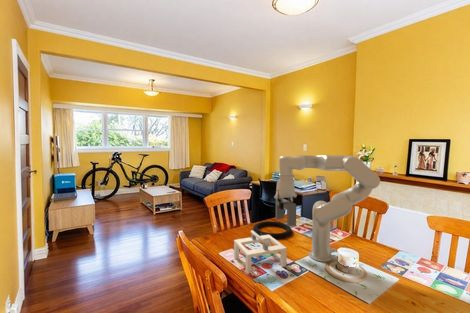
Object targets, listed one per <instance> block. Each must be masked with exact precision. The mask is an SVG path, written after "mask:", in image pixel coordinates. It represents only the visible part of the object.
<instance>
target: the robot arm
mask: <svg viewBox="0 0 470 313" xmlns="http://www.w3.org/2000/svg"><path fill="white" fill-rule="evenodd" d="M278 159H279V162H278V168H279V169H278V170H279V171H278V172H279V173H278V174H279V176H278V180H277V182H276V190H275V195H274V196H273V198H274V199H275V200H276V199H277V201H278V202H279V208H280V209H281V210H283V203H282V202H283V199H285V198H287V200H288V201H290V202H292V203H294V200H295V199H296V198H297V196H298V194H297V193H296V191H295V190H296V189H295V182H294V179H293V178H295V175H293V172H294V171H293V170H297V171H301V170H304V169H318V170H322V171H326V172H347V173H348V174H349V175H350V176H351V177H352V178H354V180H356V183H355V184H354V185H353V186H351V187H350V188H347V189H345V190H343V191H341V192H338V193H336V194H334V195H333V196H332V197H331V199H330V201H327V202H326V201H324V200H318V201H316V202H314V204H313V206H312V228H311V229H312V230H311V232H312V233H311V237H312V238H311V250H310V251H308V257H310V258H311V259H312V260H315V261H316V262H321V263H322V262H323V263H325V262H326V263H327V262H331V261H332V260H333V258H334V257H333V255H332V254H333V253H336V252H337V249H336V247H334V248H332V247H331V223H332V222H334V221H336V220H339V219H341V218H343V217H346V216H348V215H349V214H350V213H351V212H352V210H353V206H354V205H356V204H358V203H360V202H362V201H364V200H365V199H367V198H368V197H369V196H370V194H371V193H372V192H373V189H376V188H378V187H379V186H380V184H381V179H380V176H379V175H378V174H377V173H376V172H375V171H373V169H371V168H370V167H369V166H368V165H367V164H365V163H364V162H363V161H362V160H361V159H360V158H358V157H357V156H354V155H344V154H343V155H338V154H336V155H333V154H331V155H330V154H328V155H325V154H323V155H317V154H316V155H313V154H312V155H311V154H310V155H309V154H307V155H303V154H302V155H297V156H294V157H293V156H290V155H284V156H283V155H282V156H279V158H278Z"/></svg>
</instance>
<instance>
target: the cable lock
mask: <svg viewBox="0 0 470 313" xmlns="http://www.w3.org/2000/svg"><path fill="white" fill-rule="evenodd" d="M262 227H263V228H264V227H276V228H280V229H284V230H286V231H284V232H274V233H273V232H266V231H262V230H260V228H262ZM252 229H253V231H254V232H255V233H257V234H258V235H259V236H263V235H270V236H272V237H273V238H274V239H275V240H279V239H285V238H287V237H289V236H291V235H292V233H293V230H292V228H291V226H287V223H284V222H280V221H269V220H268V221H267V220H266V221H261V222H258V223H256V224H255V225H254V226H253V227H252Z"/></svg>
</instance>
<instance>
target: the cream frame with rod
mask: <svg viewBox="0 0 470 313" xmlns="http://www.w3.org/2000/svg"><path fill="white" fill-rule="evenodd" d="M250 233H251V237H244V238H238V239H233V258H234V259H235V260H240V251H241V253H243V255H244V256H245V273H246V274H248V275H250V274H249V273H251V274H252V258H254V257H260V256H265V255H270V254H276V253H280V260H279V261H280V267H282V268H286V267H287V247H286V246H285V245H283V244H282V243H281V242H280V241H279V240H278V239H274V238H273V237H272V236H270V235H263V236H259V235H258V234H257V233H255V232H254V231H253V230H252V229H251V230H250ZM255 243H262V247H260V248H253V249H249V250H248V248H246V247H245V245H250V244H255ZM272 244H273V245H272Z"/></svg>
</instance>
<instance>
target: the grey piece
mask: <svg viewBox="0 0 470 313" xmlns="http://www.w3.org/2000/svg"><path fill="white" fill-rule="evenodd" d="M282 203H283V210H281V209H280V208H279V202H278V201H277V199H275V219H276V220H283V219H285V210H286V225H287V226H289V227H293V226H297V203H295V202H290V201H289V199H285V198H283V202H282Z"/></svg>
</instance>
